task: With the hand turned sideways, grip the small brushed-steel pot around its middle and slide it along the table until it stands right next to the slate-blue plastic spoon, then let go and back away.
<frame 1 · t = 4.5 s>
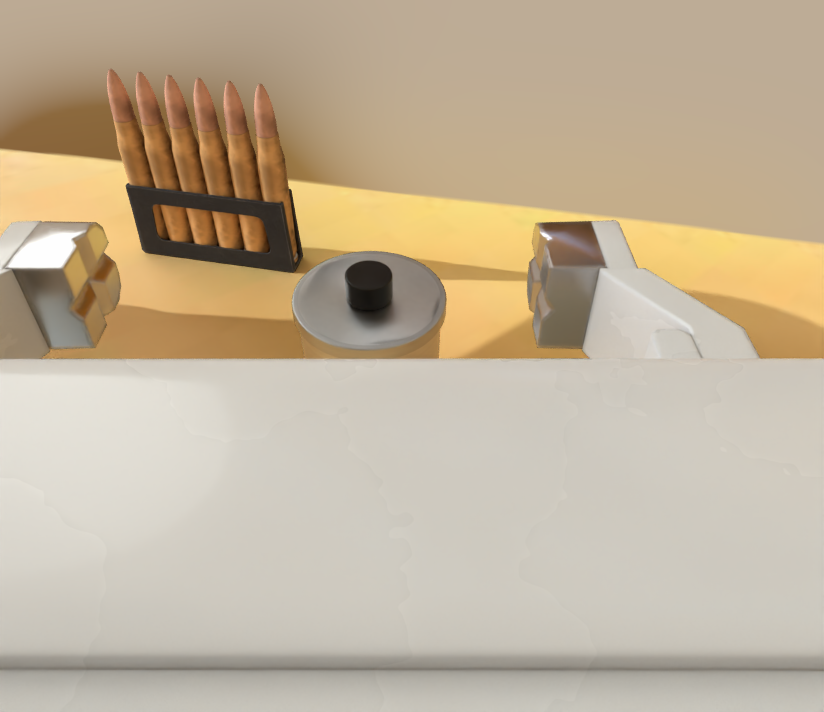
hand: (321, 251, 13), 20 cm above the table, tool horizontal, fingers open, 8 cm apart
ammunition clip: (223, 256, 47), on the table
pot: (374, 430, 36), on the table
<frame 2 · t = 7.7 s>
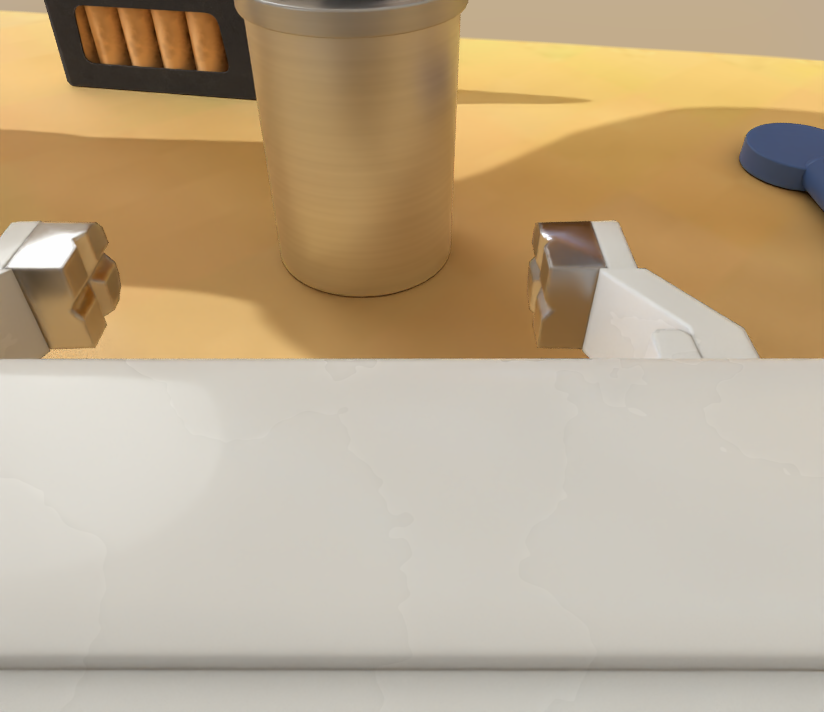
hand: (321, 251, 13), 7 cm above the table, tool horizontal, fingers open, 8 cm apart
ammunition clip: (171, 89, 37), on the table
pot: (366, 245, 26), on the table
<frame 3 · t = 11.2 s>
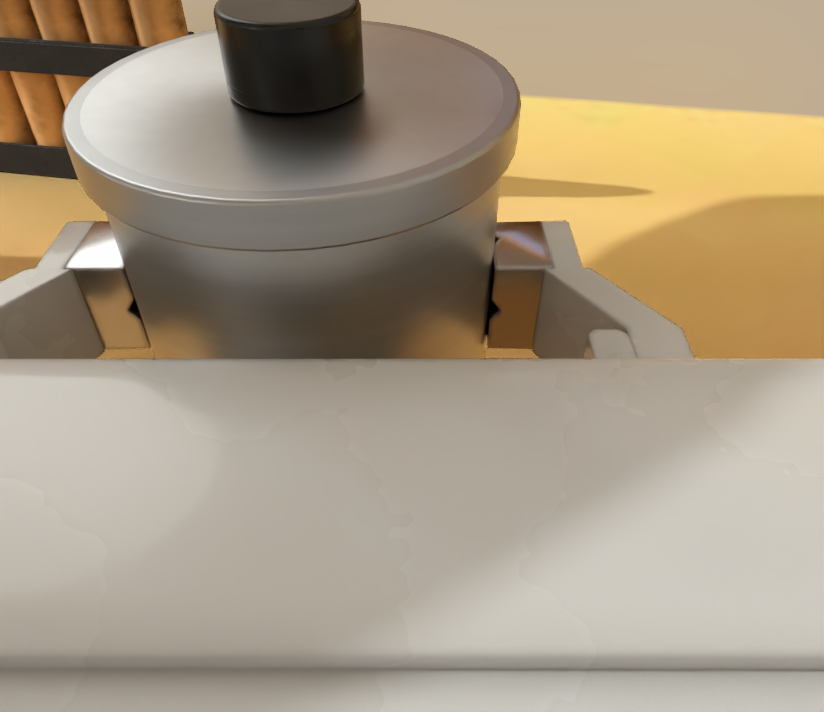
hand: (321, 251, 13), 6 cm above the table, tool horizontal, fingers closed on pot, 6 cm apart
ammunition clip: (92, 172, 28), on the table
pot: (341, 470, 16), on the table, touching gripper
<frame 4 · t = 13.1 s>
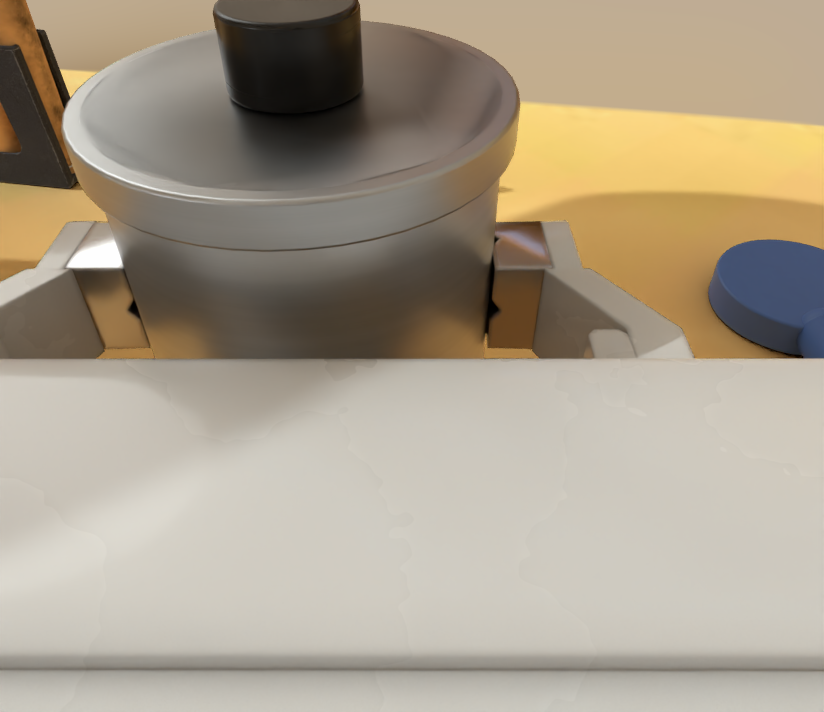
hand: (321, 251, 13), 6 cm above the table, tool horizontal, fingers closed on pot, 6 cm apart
pot: (340, 470, 16), on the table, touching gripper
when the fingers open (6 cm above the table, at t = 15.4 s): pot stays where it is, on the table.
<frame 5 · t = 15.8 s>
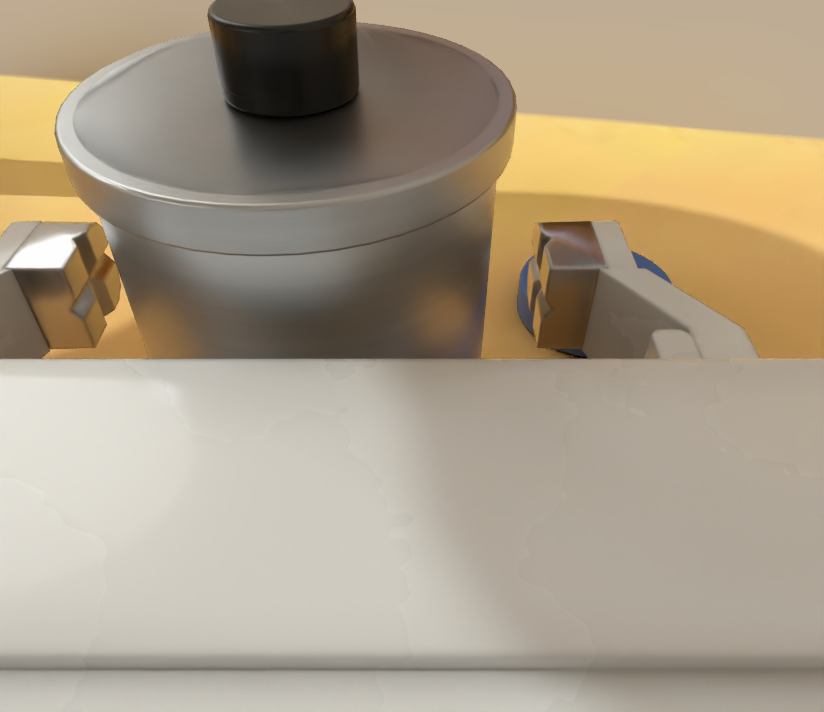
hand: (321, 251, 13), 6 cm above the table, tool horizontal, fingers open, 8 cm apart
pot: (337, 472, 16), on the table
spoon: (628, 437, 17), on the table
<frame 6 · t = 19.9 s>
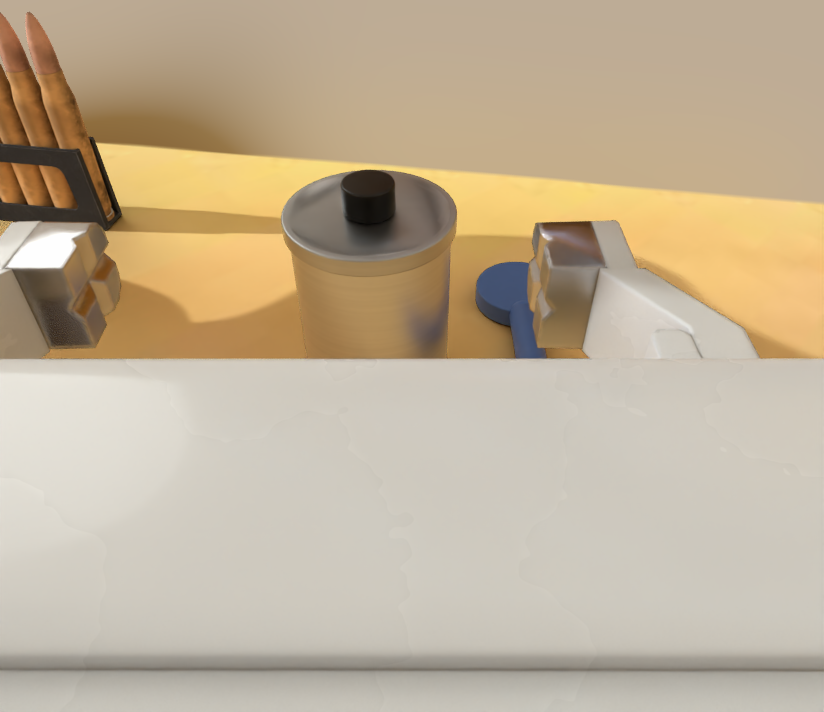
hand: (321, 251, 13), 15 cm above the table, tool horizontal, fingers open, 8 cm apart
ammunition clip: (38, 217, 44), on the table
pot: (378, 382, 32), on the table
spoon: (529, 365, 33), on the table
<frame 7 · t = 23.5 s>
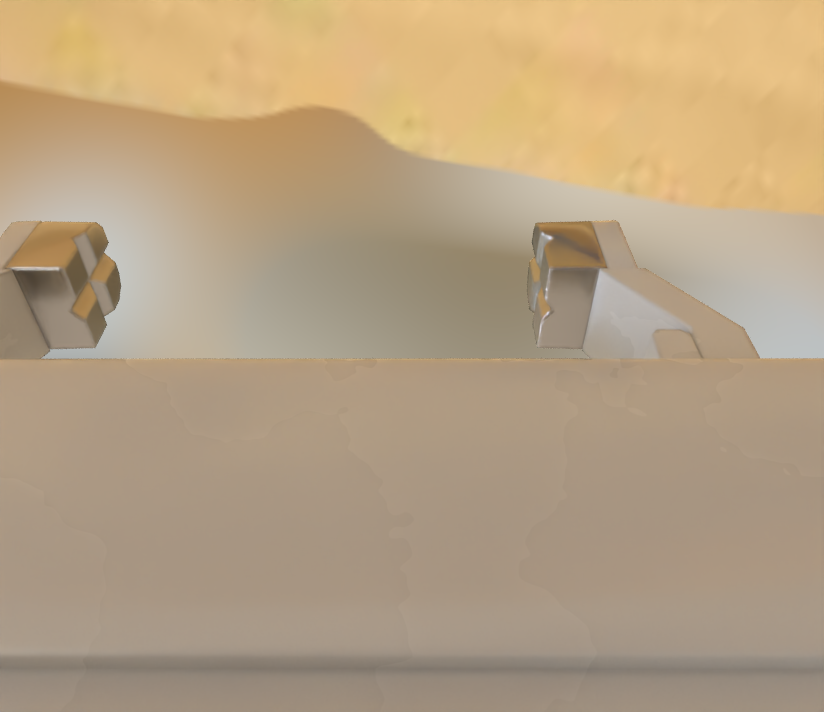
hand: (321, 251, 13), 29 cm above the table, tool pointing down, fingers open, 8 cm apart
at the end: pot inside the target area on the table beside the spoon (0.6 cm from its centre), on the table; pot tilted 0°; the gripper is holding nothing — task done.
